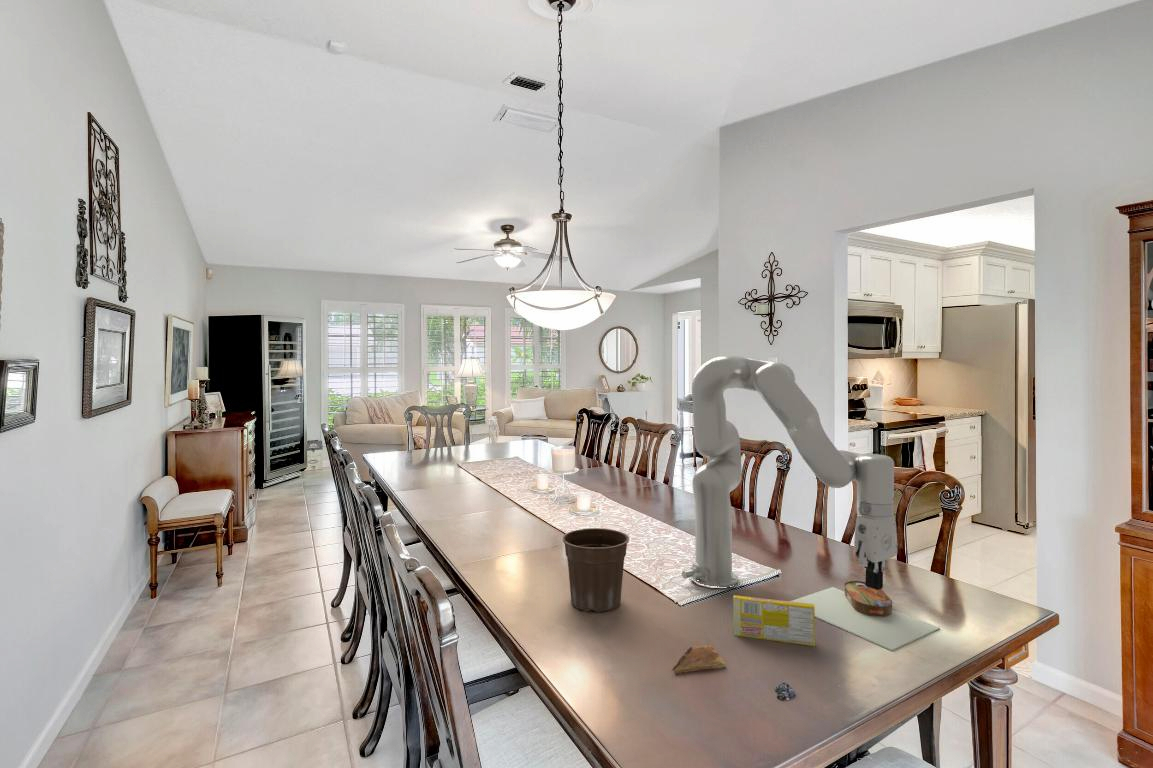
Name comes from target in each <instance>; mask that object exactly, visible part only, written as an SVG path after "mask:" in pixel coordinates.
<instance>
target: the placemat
mask: <svg viewBox="0 0 1153 768" xmlns="http://www.w3.org/2000/svg"><path fill="white" fill-rule="evenodd" d="M790 602H799V603H808V604H814V606H815V618H816V619H818V620H821V621H823V622H824V623H828V624H830V625H831V626H834V627H836V628H838V627H839V628H838V629H841V630H843V631H845V632H847V631H848V633H849V634H852V635H854V636H857V637H858V638H861V639H863V640H866V641H868V642H870V643H872V644H875V645H877V646H880V647H881V648H884V649H886V650H887V651H890V652H893V651H895V650H898V649H900V648H901V647H904V646H906V645H908V644H910V643H913V642H915V641H918V640H919V639H921V638H924V637H926V636H928V635H930V634H932V633H935V632H936V630H937V631H938V629H939V630H940V629H941V627H939V626H937V625H934V624H931V623H929V622H927V621H925V620H924V621H923V620H921V619H919V618H916V617H913V616H910V615H908V614H905V613H903V612H900V611H897V610H895V609H892V613H891V614H890V615H887V616H880V615H867V614H864V613H861V612H859V611H857V610H856V609H855V608H854V607H853V606H852V604H851V603H850V602H849V600H848V599H847V597H846V596H845V590H841V589H838V588H836V587H833V586H831V587H829V588H825V589H823V590H819V591H816V592H813V593H810V594H808V595H805V596H802V597H799V598H796V599H793V600H790ZM934 631H935V632H934Z"/></svg>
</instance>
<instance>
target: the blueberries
mask: <svg viewBox="0 0 1153 768" xmlns="http://www.w3.org/2000/svg"><path fill="white" fill-rule="evenodd" d="M766 688H767V687H764V689H766ZM774 692H775V693H776V694H777V695H776V698H777V700H778V701H783V702H784V701H787V700H788V701H789V700H790V699H794V698H795V696H796V693H795V690H794V689H793V688H792V687H791V686H790V685H789V683H787V682H781V683H779V684H778V686H775V688H774Z"/></svg>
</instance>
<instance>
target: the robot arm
mask: <svg viewBox="0 0 1153 768" xmlns="http://www.w3.org/2000/svg"><path fill="white" fill-rule="evenodd" d="M735 388H738V389H742V390H749V391H753V392H757V393H758V394H759V396H761V398H762V400H764V402H765V403H766V404H767V406H768V407H769V409H770V410H771V411H772V412H773V414H774V415H775V416H776V417H777V419H778V421H779V422H781V424H782V425H783V427H784V428H785V429H786V432H787V433H788V435H789V438H790V439H791V441H792V443H793V445H794V446H795V448H796V450H797V452H798V453H799V454H800V456H801V458H802V460H803V461H804V462H805V464H806V465H807V466H808V467H809V468H810V470H811V471H812V473H813V474H814V475H815V477H817V478H818V480H819V481H820V482H821V483H823V484H824V485H825V486H827V487H830V488H833V489H840V488H844V487H846V486H848V485H849V484H851V482H856V514H857V515H856V520H855V527H854V540H853V543H854V544H853V548H854V549H853V550H854V551H853V553H854V556H855V557H856V558H858V559H857V565H858V566H860V567H863V569H864V570H865V582H866V586H867V587H870V588H873V589H876V590H880V589H882V590H883V589H884V571H885V569H886V568H885V567H886V562H887V561H888V560H889V559H893V558H894V557H896V556H897V555H898V534H897V532H898V531H897V522H896V517H895V513H894V509H895V506H894V505H895V461H894V459H893V458H892V457H891V456H888V455H884V454H877V453H875V454H874V453H867V454H864V453H857V452H853V451H849V450H841V449H839V450H838V448H837V447H836V446H835V445H834V443H833V442H832V441H831V439H830V438H829V436H828V434H826V431H825V429H824V427H823V426H822V423H821V418H820V414H819V412H818V410H817V408H816V406H815V405H814V404H813V402H812V401H811V400H810V398H808V396H807V395H806V394H805V393H804V392H803V390H802V389H801V388H800V387H799V385H798V384H797V383H796V377H795V373H794V371H793V369H791V367H790V366H789V365H787V364H785V363H782V362H775V361H767V360H760V359H755V358H748V357H743V356H733V355H732V356H731V355H724V356H723V355H722V356H717V357H714V358H712V359H710V360H707V361H706V362H705V363H703V364H702V365H701V366H700V367H699V368H698V369H697V371H696V373H695V374H694V376H693V379H692V384H691V396H692V397H691V398H692V409H693V410H692V415H693V416H692V418H693V420H692V421H693V438H694V439H693V440H694V447H695V449H696V451H697V452H698V453H699V455H701V456H702V457H704V458H707V463H705V464H702V465H701V466H700V467H699V468H697V469H696V471H695V473H694V475H693V476H692V477H693V478H692V494H693V500H694V514H695V515H694V517H695V518H694V519H695V521H694V523H695V524H694V525H695V527H694V528H695V537H694V539H695V544H694V545H695V548H694V549H695V550H694V551H695V562H693V563H692V567H691V568H690V569H686V570H682V572H681V577H682V578H683V579H688V578H689V579H690V577H691V579H693V580H694V581H696V582H698V583H700V584H704V585H709V586H717V587H718V586H719V587H730V586H733V585H735V584H736V583H737V582H739V577H738V575H737V574H736V573H735V572H733V516H732V515H733V512H732V503H731V499H730V493H731V492H732V491H734V490H735V489H736V488H737V487H738V486H739V485H740V483H741V480H742V471H743V469H742V456H741V455H742V454H741V439H740V434H739V432H738V429H737V427H736V426H735V424H733V423H732V422H731V421H730V420H727V411H726V410H727V406H726V401H725V398H724V393H725V391H726V390H727V389H735ZM697 580H699V581H697ZM737 584H738V583H737ZM737 584H736V585H737ZM736 585H735V586H736ZM733 587H734V586H733ZM730 588H731V587H730Z"/></svg>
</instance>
